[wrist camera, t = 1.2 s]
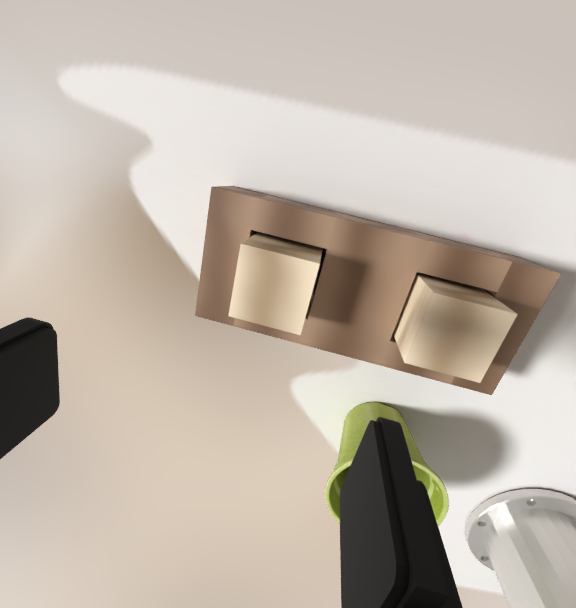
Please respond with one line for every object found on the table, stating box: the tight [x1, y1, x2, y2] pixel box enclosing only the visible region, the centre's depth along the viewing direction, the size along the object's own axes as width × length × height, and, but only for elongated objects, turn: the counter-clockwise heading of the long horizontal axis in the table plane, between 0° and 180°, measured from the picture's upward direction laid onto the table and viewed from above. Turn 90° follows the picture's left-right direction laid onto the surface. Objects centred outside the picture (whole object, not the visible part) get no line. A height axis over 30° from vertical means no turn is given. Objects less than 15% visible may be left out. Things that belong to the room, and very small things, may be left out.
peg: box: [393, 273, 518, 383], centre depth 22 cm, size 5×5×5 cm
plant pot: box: [325, 402, 449, 526], centre depth 29 cm, size 9×9×9 cm
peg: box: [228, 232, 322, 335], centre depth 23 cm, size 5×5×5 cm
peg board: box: [195, 186, 561, 395], centre depth 26 cm, size 24×10×5 cm, turn 77°
